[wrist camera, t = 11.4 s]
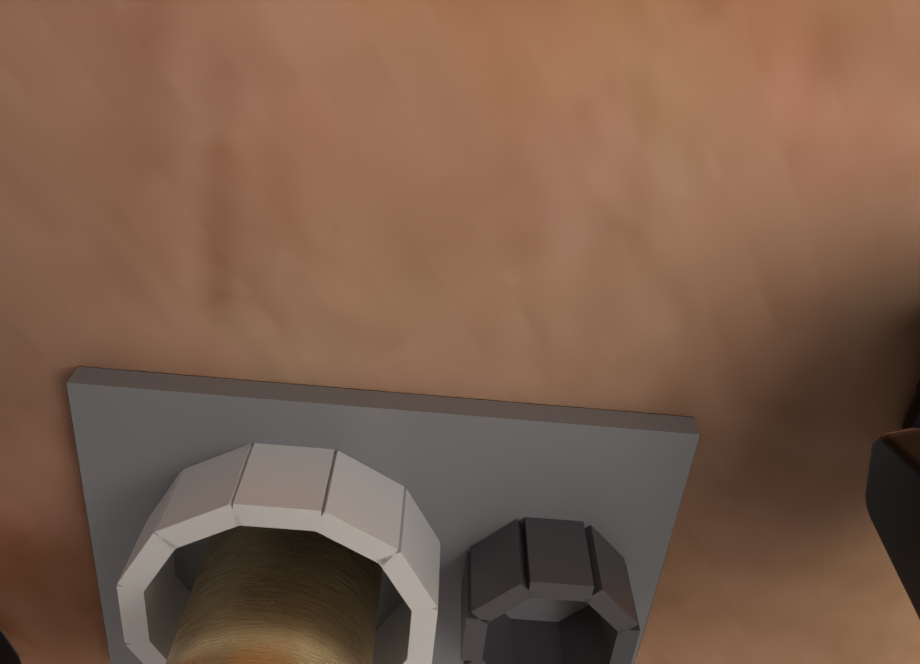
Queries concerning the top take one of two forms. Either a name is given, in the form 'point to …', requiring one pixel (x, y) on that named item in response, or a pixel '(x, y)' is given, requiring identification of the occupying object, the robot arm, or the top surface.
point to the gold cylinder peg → (279, 601)
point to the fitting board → (401, 442)
